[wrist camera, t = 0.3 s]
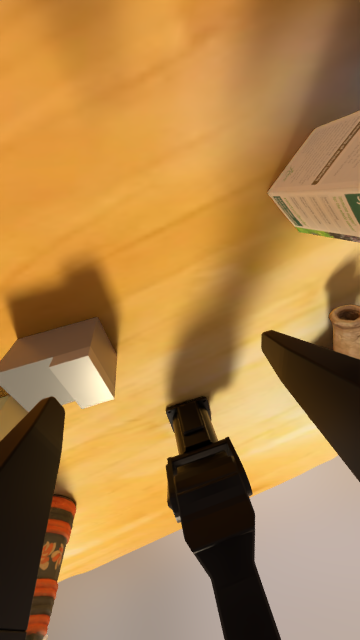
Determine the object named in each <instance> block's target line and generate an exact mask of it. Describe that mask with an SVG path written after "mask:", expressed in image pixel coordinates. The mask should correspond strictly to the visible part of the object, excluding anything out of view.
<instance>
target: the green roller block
mask: <svg viewBox="0 0 360 640" xmlns="http://www.w3.org/2000/svg"><path fill="white" fill-rule="evenodd" d="M27 414H28V412H27V411H26V410H25V409H24V408H23V407H22V406H21V405H20V404H19V403H18V402H17V401H16V400H14V399H13V398H12V397H11V396H10V395H8V396H5V397H2V398H0V441H1V440H2V439H3V438H4V437H5V436H6V435H7V434H8V433H9V432H10V431H11V430H12V429H13V428H14V427H15V426H16V425H17V424H18V423H19V422H20V421H21V420H22V419H23V418H24V417H25V416H26V415H27Z"/></svg>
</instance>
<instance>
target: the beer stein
mask: <svg viewBox="0 0 360 640" xmlns="http://www.w3.org/2000/svg"><path fill="white" fill-rule="evenodd" d="M75 513H76V506H75V505H74V502H73V501H72V500H71V499H69V498H67V497H64V496H58V495H53V499H52V504H51V509H50V514H49V520H48V525H47V530H46V535H45V540H44V545H43V551H42V556H41V561H40V566H39V571H38V576H37V581H36V587H35V592H34V597H33V602H32V607H31V612H30V618H29V623H28V628H27V630H26V631H27V634H26V639H25V640H43V638H44V636H45V635H46V633H47V626H48V624H49V621H50V616H51V613H52V607H53V604H54V600H55V597H56V592H57V589H58V584H57V580H58V576H59V572H60V568H61V564H62V559H63V555H64V551H65V547H66V544H67V543H68V541H69V538H70V534H71V529H72V524H73V519H74V515H75Z"/></svg>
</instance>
